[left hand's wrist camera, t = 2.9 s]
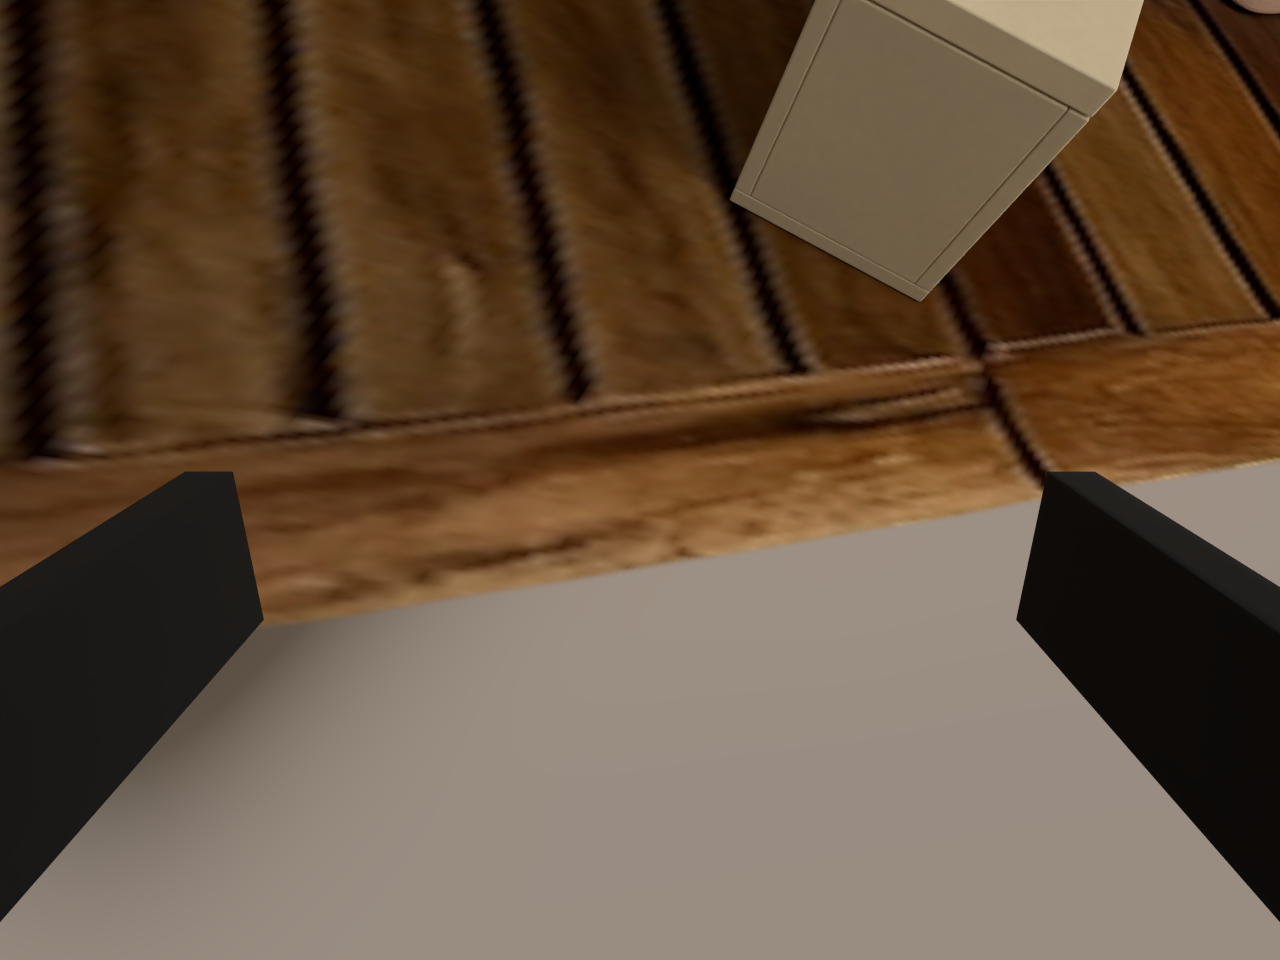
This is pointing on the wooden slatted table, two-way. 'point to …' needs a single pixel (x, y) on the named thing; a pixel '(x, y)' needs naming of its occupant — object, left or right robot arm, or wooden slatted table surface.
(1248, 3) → the anatomical model
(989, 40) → the lid
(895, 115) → the chest
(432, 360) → the wooden slatted table surface
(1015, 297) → the wooden slatted table surface
